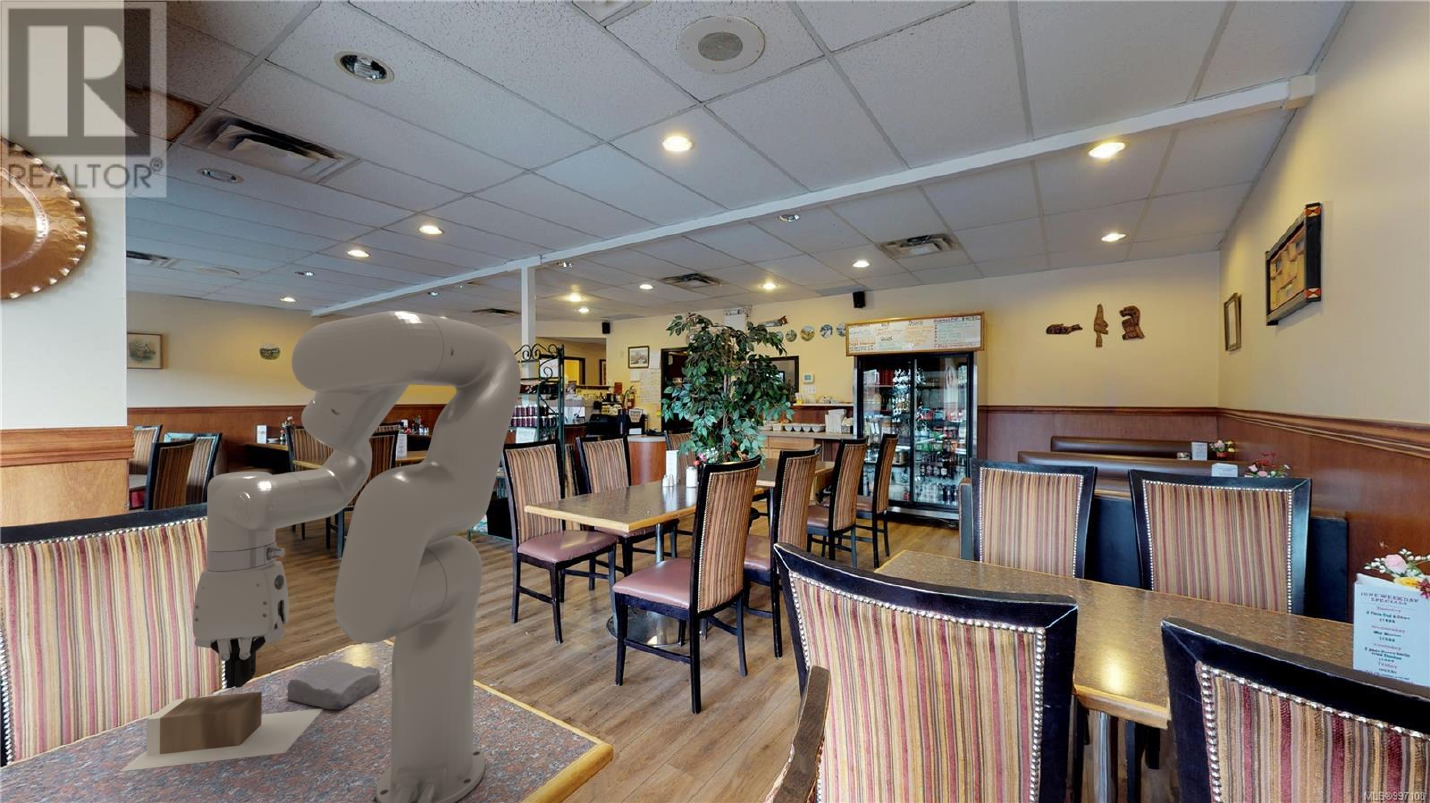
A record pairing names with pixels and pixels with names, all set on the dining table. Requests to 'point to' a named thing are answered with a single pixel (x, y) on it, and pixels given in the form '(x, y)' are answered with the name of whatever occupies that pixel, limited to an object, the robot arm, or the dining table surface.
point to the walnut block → (204, 723)
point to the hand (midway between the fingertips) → (240, 682)
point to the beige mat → (266, 740)
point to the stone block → (332, 684)
